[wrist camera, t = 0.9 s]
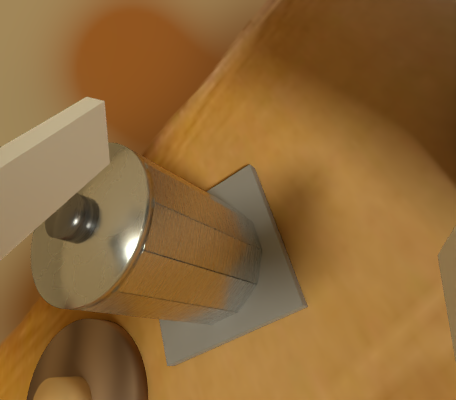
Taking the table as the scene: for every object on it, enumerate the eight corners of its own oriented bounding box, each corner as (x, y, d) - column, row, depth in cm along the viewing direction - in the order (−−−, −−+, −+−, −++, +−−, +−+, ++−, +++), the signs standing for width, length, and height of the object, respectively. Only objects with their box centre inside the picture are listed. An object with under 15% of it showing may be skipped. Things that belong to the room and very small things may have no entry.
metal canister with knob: (241, 185, 32) (112, 99, 21) (279, 294, 27) (137, 254, 16) (156, 237, 35) (9, 186, 25) (176, 342, 30) (4, 335, 20)
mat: (254, 168, 32) (249, 164, 32) (307, 306, 26) (302, 305, 26) (149, 233, 37) (143, 231, 36) (174, 365, 31) (167, 365, 30)
